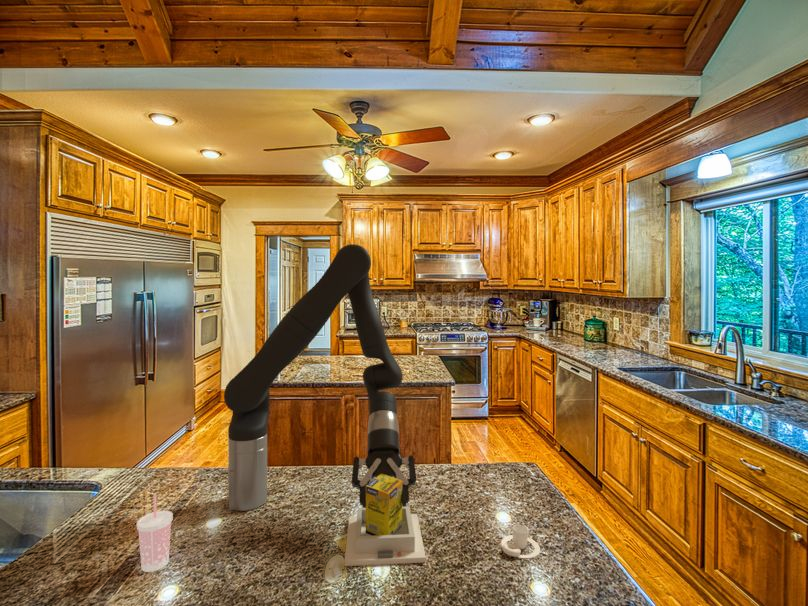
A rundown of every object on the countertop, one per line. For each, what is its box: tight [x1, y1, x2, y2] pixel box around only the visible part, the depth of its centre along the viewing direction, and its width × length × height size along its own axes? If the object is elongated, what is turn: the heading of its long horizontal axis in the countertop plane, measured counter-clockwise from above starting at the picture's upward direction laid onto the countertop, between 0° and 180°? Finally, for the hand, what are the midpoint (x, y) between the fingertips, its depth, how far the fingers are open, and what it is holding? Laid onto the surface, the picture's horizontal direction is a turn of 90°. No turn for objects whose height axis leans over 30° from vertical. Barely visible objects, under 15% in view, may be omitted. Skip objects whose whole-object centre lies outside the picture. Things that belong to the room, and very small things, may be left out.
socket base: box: [343, 505, 427, 567], centre depth 87 cm, size 16×16×4 cm
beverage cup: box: [136, 492, 174, 573], centre depth 79 cm, size 6×6×14 cm
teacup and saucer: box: [500, 524, 541, 559], centre depth 85 cm, size 9×8×4 cm
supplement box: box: [366, 474, 403, 536], centre depth 86 cm, size 6×6×11 cm
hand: (384, 506), depth 86 cm, fingers closed on supplement box, 8 cm apart
